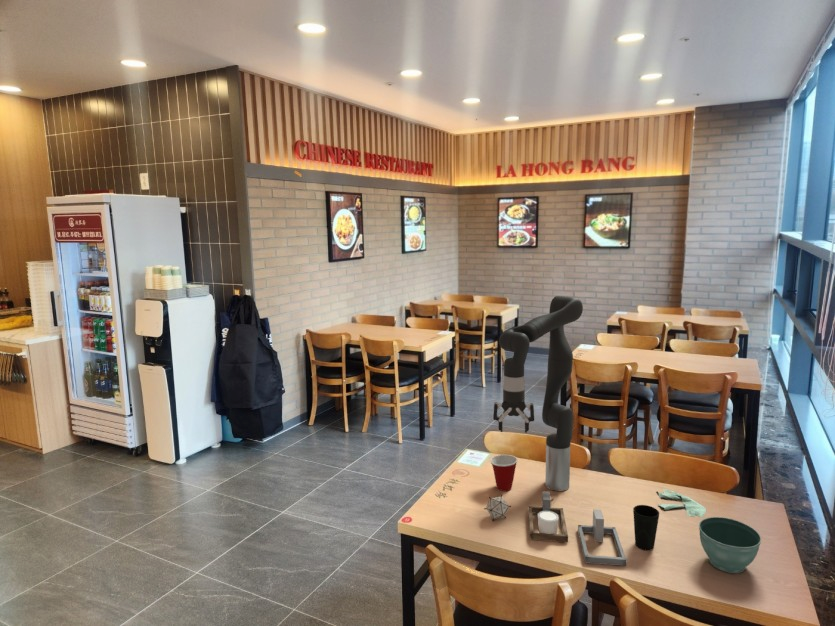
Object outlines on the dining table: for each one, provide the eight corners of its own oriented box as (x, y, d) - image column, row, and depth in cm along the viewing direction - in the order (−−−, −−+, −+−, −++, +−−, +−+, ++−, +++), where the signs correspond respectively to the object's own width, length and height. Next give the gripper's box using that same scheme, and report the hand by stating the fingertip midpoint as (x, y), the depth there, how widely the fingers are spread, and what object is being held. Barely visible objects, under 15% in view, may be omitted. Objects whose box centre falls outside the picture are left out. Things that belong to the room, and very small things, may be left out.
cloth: (711, 522, 189) (711, 516, 188) (643, 513, 196) (643, 507, 195) (701, 495, 208) (702, 489, 207) (639, 487, 215) (640, 481, 214)
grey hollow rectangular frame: (577, 530, 184) (578, 508, 183) (614, 532, 182) (615, 510, 181) (585, 562, 167) (585, 538, 165) (626, 565, 165) (627, 541, 163)
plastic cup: (496, 478, 223) (496, 451, 221) (521, 485, 217) (521, 456, 215) (485, 490, 214) (485, 461, 212) (511, 496, 208) (511, 467, 206)
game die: (501, 529, 193) (510, 517, 186) (479, 519, 194) (486, 507, 187) (507, 507, 199) (515, 495, 192) (485, 498, 200) (493, 485, 193)
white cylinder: (559, 531, 184) (559, 512, 183) (557, 542, 178) (557, 522, 177) (538, 527, 187) (539, 508, 185) (535, 538, 180) (536, 519, 179)
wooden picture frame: (528, 511, 197) (528, 490, 196) (562, 513, 195) (563, 492, 194) (530, 539, 179) (530, 517, 178) (568, 542, 177) (568, 519, 176)
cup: (655, 555, 170) (657, 519, 168) (629, 548, 174) (631, 513, 172) (659, 542, 176) (661, 508, 174) (634, 536, 180) (635, 502, 178)
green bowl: (771, 579, 157) (774, 545, 156) (717, 583, 156) (720, 548, 154) (735, 547, 173) (737, 515, 171) (686, 550, 172) (688, 518, 170)
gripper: (533, 385, 194) (533, 428, 197) (493, 384, 196) (493, 427, 199) (535, 391, 187) (534, 436, 190) (493, 390, 189) (493, 434, 192)
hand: (513, 431), depth 194 cm, fingers open, 8 cm apart
